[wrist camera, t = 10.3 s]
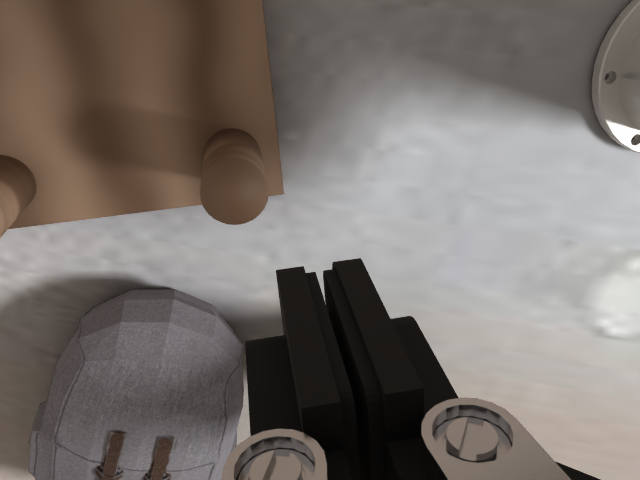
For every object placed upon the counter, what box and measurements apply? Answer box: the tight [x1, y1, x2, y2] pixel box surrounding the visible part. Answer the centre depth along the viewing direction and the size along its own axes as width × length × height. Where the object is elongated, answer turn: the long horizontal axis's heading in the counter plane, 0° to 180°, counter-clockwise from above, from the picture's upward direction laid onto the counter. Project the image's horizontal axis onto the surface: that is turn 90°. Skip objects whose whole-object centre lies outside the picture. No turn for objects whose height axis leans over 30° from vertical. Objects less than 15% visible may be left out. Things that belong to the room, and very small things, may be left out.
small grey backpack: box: [29, 290, 245, 480], centre depth 42 cm, size 15×8×20 cm
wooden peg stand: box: [0, 0, 284, 238], centre depth 31 cm, size 20×20×10 cm
